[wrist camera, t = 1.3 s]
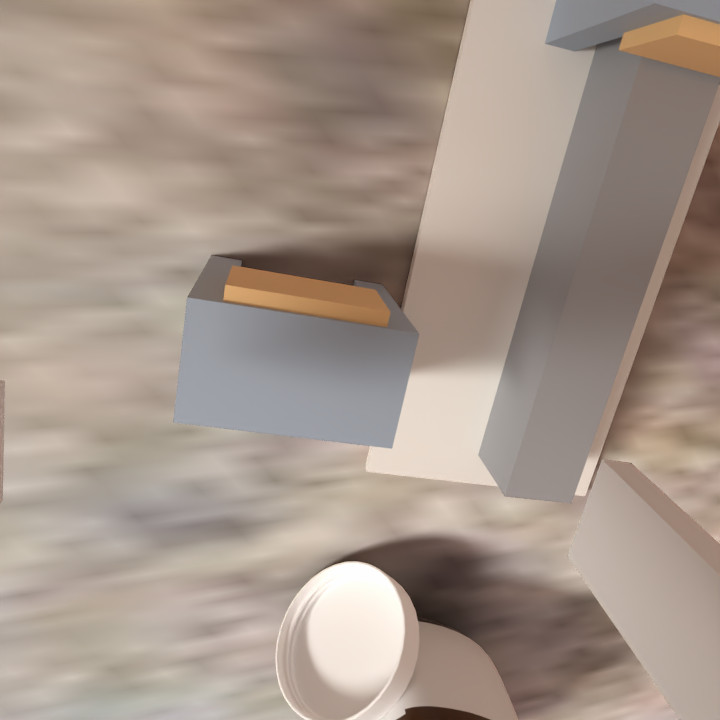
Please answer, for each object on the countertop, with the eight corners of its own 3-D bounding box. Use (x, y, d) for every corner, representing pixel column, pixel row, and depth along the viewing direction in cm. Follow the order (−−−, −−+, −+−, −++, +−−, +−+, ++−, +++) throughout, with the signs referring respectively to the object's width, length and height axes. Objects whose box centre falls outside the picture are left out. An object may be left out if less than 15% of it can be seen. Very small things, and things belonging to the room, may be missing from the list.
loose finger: (200, 349, 25) (173, 422, 19) (212, 242, 24) (189, 280, 17) (363, 373, 26) (391, 448, 20) (384, 272, 25) (423, 318, 19)
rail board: (365, 466, 28) (378, 516, 24) (529, -261, 20) (588, -356, 16) (580, 490, 30) (623, 540, 26) (811, -160, 22) (921, -222, 18)
